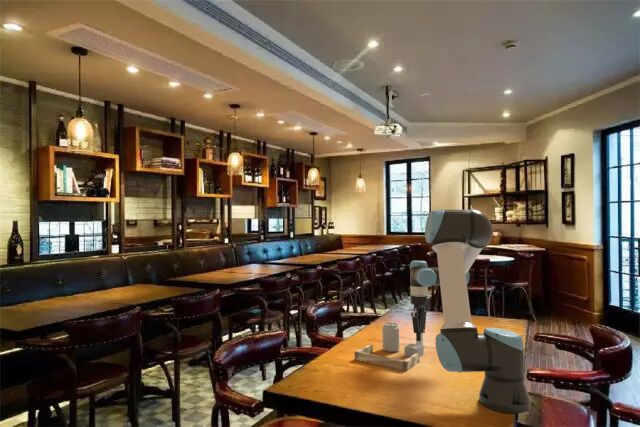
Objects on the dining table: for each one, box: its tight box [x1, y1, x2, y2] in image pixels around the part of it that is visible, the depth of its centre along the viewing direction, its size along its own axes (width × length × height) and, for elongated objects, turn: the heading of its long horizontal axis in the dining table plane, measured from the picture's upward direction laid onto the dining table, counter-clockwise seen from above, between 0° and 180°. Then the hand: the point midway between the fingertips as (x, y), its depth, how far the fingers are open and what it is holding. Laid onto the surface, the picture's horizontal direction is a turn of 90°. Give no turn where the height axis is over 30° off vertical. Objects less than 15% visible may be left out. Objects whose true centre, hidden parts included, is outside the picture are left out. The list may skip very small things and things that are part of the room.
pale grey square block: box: [404, 343, 424, 358], centre depth 186 cm, size 6×6×4 cm
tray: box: [354, 344, 420, 372], centre depth 178 cm, size 13×24×4 cm, turn 54°
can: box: [381, 322, 400, 353], centre depth 193 cm, size 8×8×12 cm
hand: (419, 347), depth 192 cm, fingers closed
